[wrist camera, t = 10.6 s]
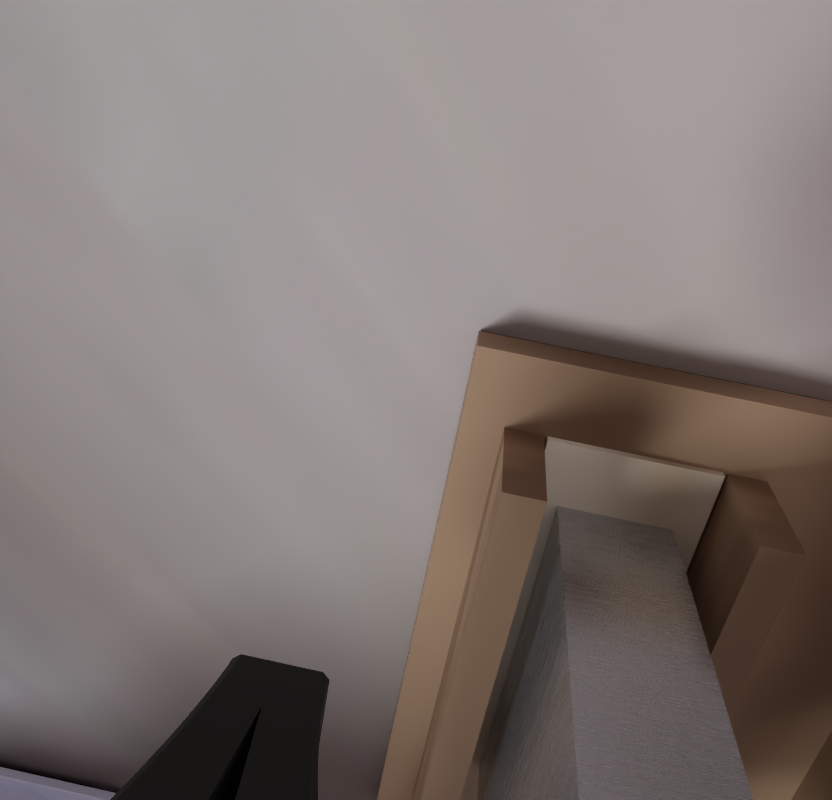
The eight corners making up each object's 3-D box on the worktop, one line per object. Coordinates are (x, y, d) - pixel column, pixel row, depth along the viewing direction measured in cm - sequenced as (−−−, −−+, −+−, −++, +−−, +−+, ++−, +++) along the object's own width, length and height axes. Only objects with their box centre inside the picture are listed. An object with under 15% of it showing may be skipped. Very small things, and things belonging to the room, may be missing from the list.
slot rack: (376, 799, 28) (355, 914, 24) (478, 331, 20) (469, 400, 16) (944, 926, 27) (1009, 1065, 23) (1293, 495, 19) (1474, 605, 15)
